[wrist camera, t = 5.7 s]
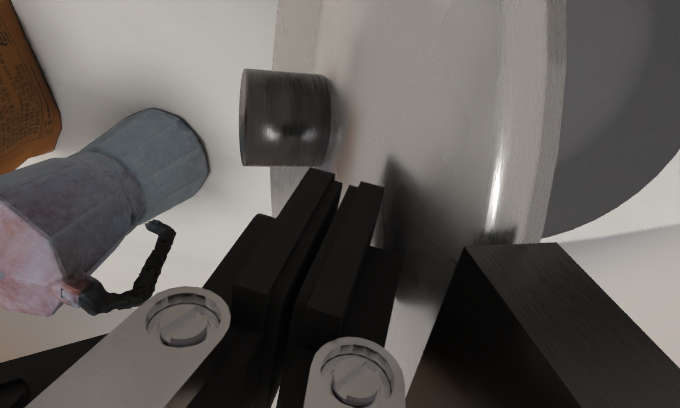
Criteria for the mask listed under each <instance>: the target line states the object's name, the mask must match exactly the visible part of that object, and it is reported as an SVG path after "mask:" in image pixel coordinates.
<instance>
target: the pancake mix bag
mask: <svg viewBox="0 0 680 408" xmlns="http://www.w3.org/2000/svg"><path fill="white" fill-rule="evenodd" d="M61 130H62V125H61V114H60V112H59V109H58V107H57V105H56V103H55V101H54V98H53V96H52V94H51V92H50V90H49V88H48V85H47V83H46V81H45V79H44V76H43V74H42V72H41V70H40V67H39V65H38V63H37V61H36V59H35V57H34V55H33V52H32V50H31V48H30V46H29V44H28V42H27V39H26V37H25V35H24V33H23V30H22V28H21V25H20V23H19V20H18V18H17V15H16V13H15V10H14V8H13V6H12V3H11V1H10V0H0V175H3V174H6V173H9V172H12V171H14V170H16V169H17V168H18V167H19V166H20V165H21V164H22V163H24V162H25V161H26V160H27V159H28V158H31V157H35V156H39V155H42V154H46V153H49V152H52V151H54V148H55V145H56V142H57V139H58V137H59V134H60V132H61Z"/></svg>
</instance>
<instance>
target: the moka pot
mask: <svg viewBox="0 0 680 408" xmlns="http://www.w3.org/2000/svg"><path fill="white" fill-rule="evenodd" d="M207 175H208V170H207V163H206V157H205V153H204V151H203V149H202V147H201V144H200V142H199V140H198V138H197V137H196V136H195V134H194V133H193V132H192V131H191V130H190V129H189V127H188V126H187V125H186V124H184V123H183V121H182V120H180V119H179V118H177V117H176V116H174V115H172V114H169V113H166V112H164V111H161V110H159V109H146V110H143V111H140V112H137V113H134V114H132V115H130V116H128V117H127V118H125V119H124V120H122V121H121V122H120V123H118V124H117V125H116V126H114V127H113V128H111V129H110V130H109V131H107V132H106V133H104V134H103V135H102V136H100V137H99V138H97V139H96V140H94V141H93V142H92V143H90V144H89V145H88V146H86V147H85V148H83V149H82V150H81V151H80V152H78V153H75V154H73V155H71V156H69V157H67V158H51V159H48V160H45V161H42V162H39V163H36V164H33V165H30V166H27V167H24V168H21V169H18V170H15V171H12V172H9V173H6V174H3V175H0V306H1V307H2V308H4V309H6V310H8V311H14V312H20V313H26V314H31V315H38V316H44V317H49V316H51V315H53V314H54V313H55V312H56V311H57V310H58V309H59V308H60V307H61V306H62V305H63V304H64V303H65V304H67V305H70V306H72V307H76V308H79V307H81V308H83V309H84V310H85V311H86V312H87V313H88V314H90V315H92V316H95V315H97V314H99V313H108V312H110V311H111V310H113V309H118V310H121V309H130V308H132V307H138V306H141V305H142V304H143V303H144V302H145V301H147V300H148V299H149V298H150V297H151V296H152V294H153V292H154V291H155V284H156V283H157V279H158V277H159V275H160V274H161V269H162V266H163V264H164V262H165V260H166V258H167V254H168V252H169V251H170V249H171V245H172V244H173V240H174V237H175V235H176V232H175V231H174V230H173V229H172V228H171V227H170V226H168V225H166V224H163V223H162V222H160V221H159V220H153V221H149V222H148V223H145V226H146V228H147V230H149V231H151V232H153V233H155V234H157V235H158V236H159V237H158V239H157V242H156V245H155V249H154V250H153V251H152V253H151V255H150V256H149V257H148V259H147V260H146V262H145V265H144V266H143V268H142V270H141V273H140V274H139V275H140V276H139V277H138V278H137V279H136V281H135V282H134V285H133V289H132V290H130V291H126V292H124V293H122V294H116V293H108V292H107V291H106V290H105V289H104V287H103V285H102V284H101V283H100V282H99V281H98V280H97V279H95V278H93V277H91V276H90V275H91V274H92V273H93V272H94V271H95V270H96V269H97V268H98V267H99V266H100V265H101V264H102V263H103V262H104V261H105V260H106V259H107V258H108V257H109V256H110V254H111V253H112V252H113V251H114V250H115V249H116V248H117V247H118V246H119V244H120V243H121V241H122V240H123V239H124V237H125V236H126V235H128V234H129V233H130V232H131V231H132V230H133V229H134V228H135V227H136V226H138V225H140V224H142V223H144V222H147V221H148V220H150V219H152V218H154V217H156V216H158V215H159V214H161V213H163V212H165V211H167V210H169V209H171V208H172V207H174V206H176V205H178V204H180V203H182V202H183V201H185V200H187V199H189V198H191V197H193V196H194V195H195V194H196V193H197V191H198V190H199V189H200V187H201V186H202V184H203V182H204V180H205V178H206V177H207Z"/></svg>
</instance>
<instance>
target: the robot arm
mask: <svg viewBox="0 0 680 408" xmlns="http://www.w3.org/2000/svg"><path fill="white" fill-rule="evenodd" d="M342 185H343V183H342V182H338V181H335V174H334V173H330V172H327V171H323V170H320V169H316V168H312V167H310V168H309V169H308V171H307V172H306V174H305V175H304V177H303V178H302V180H301V181H300V183H299V184H298V186H297V187H296V189H295V190H294V192H293V193H292V195H291V197H290V198H289V200H288V201H287V203H286V204H285V206H284V207H283V209H282V210H281V212H280V213H279V215H278V216H277V218H274V217H270V216H267V215H263V214H257V215H256V216H255V217H254V218H253V219H252V221H251V222H250V223H249V225H248V226H247V228H246V229H245V230H244V232H243V233H242V234H241V236H240V237H239V238H238V240H237V241H236V242H235V244H234V245H233V247H232V248H231V249H230V251H229V252H228V253H227V255H226V256H225V257H224V259H223V260H222V262H221V263H220V264H219V266H218V267H217V268H216V270H215V271H214V272H213V274H212V275H211V276H210V278H209V279H208V281H207V282H206V283H205V285H204V286H203V287H202V288H199V287H188V286H183V287H176V288H170V289H167V290H165V291H162V292H159V293H157V294H156V295H154V296H153V297H151V298H150V299H148V300H147V301H145V302H144V303H143V304H142V305H141V306H140V307H138V308H137V309H136V310H135V311H134V312H133V313H132V314H131V315H130V316H128V317H127V318H126V319H125V320H124V321H123V322H122V323H120V324H119V325H118V326H117V327H116V328H115V329H113V330H112V331H111V332H110V333H108V334H104V335H100V336H97V337H93V338H90V339H86V340H82V341H79V342H75V343H71V344H68V345H64V346H60V347H57V348H53V349H50V350H46V351H42V352H39V353H35V354H32V355H28V356H24V357H20V358H17V359H13V360H9V361H6V362H2V363H0V408H271V405H272V403H273V400H274V398H275V396H276V393H277V391H278V389H279V386H280V389H279V395H278V400H277V406H276V408H406V407H405V382H404V377H403V372H402V369H401V368H400V366H399V364H398V362H397V361H396V359H395V358H394V357H393V356H392V355H391V354H390V353H389V352H388V351H387V350H386V349H385V343H386V338H387V333H388V329H389V324H390V319H391V314H392V310H393V305H394V300H395V295H396V291H397V286H398V281H399V276H400V272H401V267H402V262H403V255H401V254H398V253H394V252H391V251H387V250H384V249H380V248H377V247H373V246H370V244H371V241H372V237H373V233H374V229H375V225H376V222H377V218H378V214H379V210H380V207H381V203H382V199H383V195H384V191H385V187H381V186H378V185H374V184H370V183H367V182H363V181H361V182H360V184H359V186H358V187H356V186H353V185H349V187H348V189H347V191H346V193H345V195H344V197H343V199H342V201H341V204H340V206H339V208H338V205H339V200H340V196H341V191H342Z"/></svg>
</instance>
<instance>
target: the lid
mask: <svg viewBox="0 0 680 408" xmlns="http://www.w3.org/2000/svg"><path fill="white" fill-rule="evenodd" d="M565 75H566V0H279V2H278V10H277V20H276V30H275V40H274V53H273V66H272V71H269V70H256V69H244V71H243V74H242V80H241V89H240V104H239V141H240V154H241V160H242V164H243V166H267V167H270V179H271V202H272V217H274V218H277V216H278V215H279V213H280V212H281V210H282V209H283V207H284V206H285V204H286V203H287V201H288V200H289V198H290V197H291V195H292V193H293V192H294V190H295V189H296V187H297V186H298V184H299V183H300V181H301V180H302V178H303V177H304V175H305V174H306V172H307V171H308V169H309V168H310V167H312V168H316V169H320V170H323V171H327V172H330V173H334V174H335V181H338V182H342V183H343V185H342V191H341V196H340V200H339V205H338V208H339V206H340V204H341V201H342V199H343V197H344V195H345V193H346V191H347V189H348V187H349V185H353V186H356V187H358V186H359V184H360V182H361V181H363V182H367V183H370V184H374V185H378V186H381V187H385V191H384V195H383V199H382V203H381V207H380V210H379V214H378V218H377V222H376V225H375V229H374V233H373V237H372V241H371V244H370V246H373V247H377V248H380V249H384V250H387V251H391V252H394V253H398V254H401V255H403V262H402V267H401V272H400V276H399V281H398V286H397V291H396V295H395V300H394V305H393V310H392V314H391V319H390V324H389V329H388V333H387V338H386V343H385V349H386V350H387V351H388V352H389V353H390V354H391V355H392V356H393V357H394V358H395V359H396V361H397V362H398V364H399V366H400V368H401V369H402V372H403V377H404V382H405V407H406V408H680V368H679V367H678V366H677V365H676V364H675V363H674V362H673V361H672V360H671V359H670V358H669V357H668V356H667V355H666V354H665V353H664V352H663V351H662V350H661V349H660V348H659V347H658V346H657V345H656V344H655V343H654V342H653V341H652V340H651V339H650V338H649V337H648V336H647V335H646V334H645V332H643V331H642V329H641V328H640V327H639V326H638V325H637V324H635V322H634V321H633V320H632V319H631V318H630V317H629V316H628V315H627V314H626V313H625V312H624V311H623V310H622V309H621V308H620V307H619V306H618V305H617V304H616V303H615V302H614V301H613V300H612V299H611V298H610V297H609V296H608V295H607V294H606V293H605V292H604V291H603V290H602V289H601V288H600V286H599V285H598V284H596V283H595V281H594V280H593V279H592V278H591V277H590V276H589V275H588V274H587V273H586V272H585V271H584V270H583V269H582V268H581V267H580V266H579V265H578V264H577V263H576V262H575V261H574V260H573V259H572V258H571V257H570V256H569V255H568V254H567V253H566V252H565V251H564V250H563V249H562V248H561V247H560V246H559V245H558V244H557V243H556V242H555V243H540V240H541V237H542V233H543V230H544V224H545V219H546V214H547V208H548V203H549V198H550V193H551V187H552V182H553V177H554V172H555V166H556V161H557V156H558V150H559V139H560V128H561V118H562V107H563V96H564V86H565Z"/></svg>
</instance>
